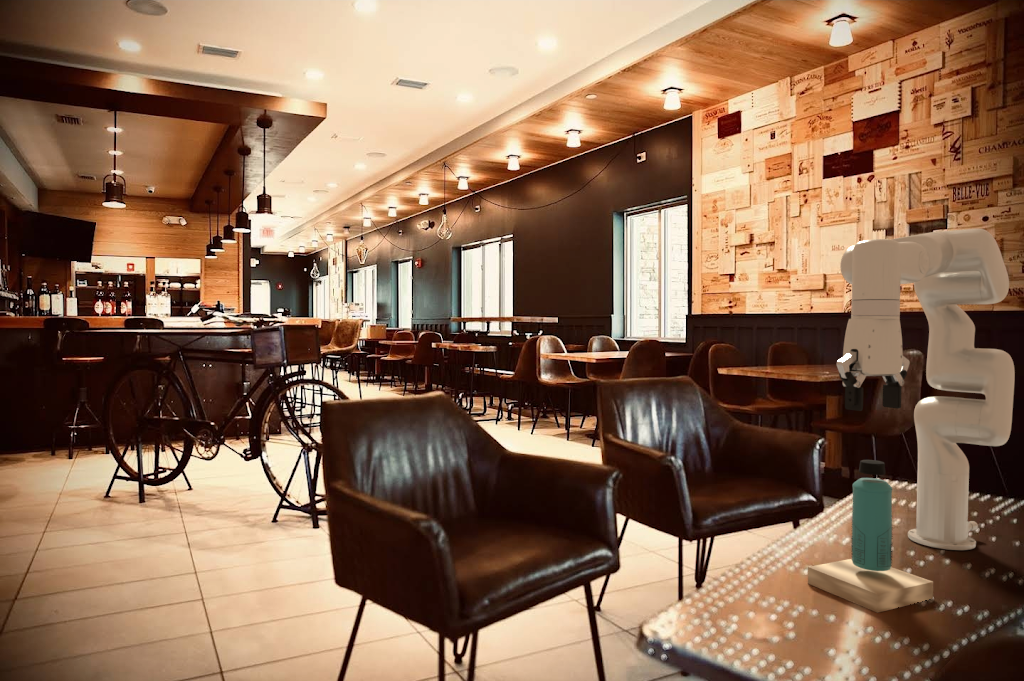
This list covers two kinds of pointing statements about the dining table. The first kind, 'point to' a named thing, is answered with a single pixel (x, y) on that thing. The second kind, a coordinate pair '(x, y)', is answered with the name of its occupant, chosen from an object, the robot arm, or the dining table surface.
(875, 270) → the robot arm
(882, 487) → the beverage bottle
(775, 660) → the dining table surface
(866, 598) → the birch plinth
